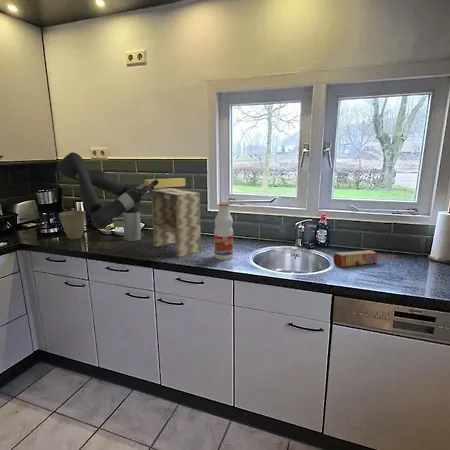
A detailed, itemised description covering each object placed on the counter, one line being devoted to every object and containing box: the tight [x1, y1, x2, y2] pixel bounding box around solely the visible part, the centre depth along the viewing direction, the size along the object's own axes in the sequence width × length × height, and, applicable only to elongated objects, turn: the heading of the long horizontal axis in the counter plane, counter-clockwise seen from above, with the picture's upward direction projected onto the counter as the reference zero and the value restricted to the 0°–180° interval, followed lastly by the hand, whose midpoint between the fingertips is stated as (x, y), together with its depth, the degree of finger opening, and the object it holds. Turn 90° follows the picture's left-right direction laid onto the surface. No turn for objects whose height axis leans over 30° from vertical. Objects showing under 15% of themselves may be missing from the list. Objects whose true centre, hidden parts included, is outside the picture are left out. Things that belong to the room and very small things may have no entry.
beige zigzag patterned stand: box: [149, 188, 202, 257], centre depth 173 cm, size 15×26×32 cm, turn 42°
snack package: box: [332, 249, 378, 268], centre depth 153 cm, size 21×7×7 cm, turn 107°
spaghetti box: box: [144, 177, 186, 189], centre depth 166 cm, size 22×4×4 cm, turn 131°
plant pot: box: [58, 210, 86, 240], centre depth 196 cm, size 15×15×16 cm
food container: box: [111, 216, 125, 228], centre depth 211 cm, size 12×6×10 cm, turn 84°
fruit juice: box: [213, 202, 234, 261], centre depth 160 cm, size 9×9×28 cm
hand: (155, 180), depth 161 cm, fingers closed on spaghetti box, 4 cm apart
